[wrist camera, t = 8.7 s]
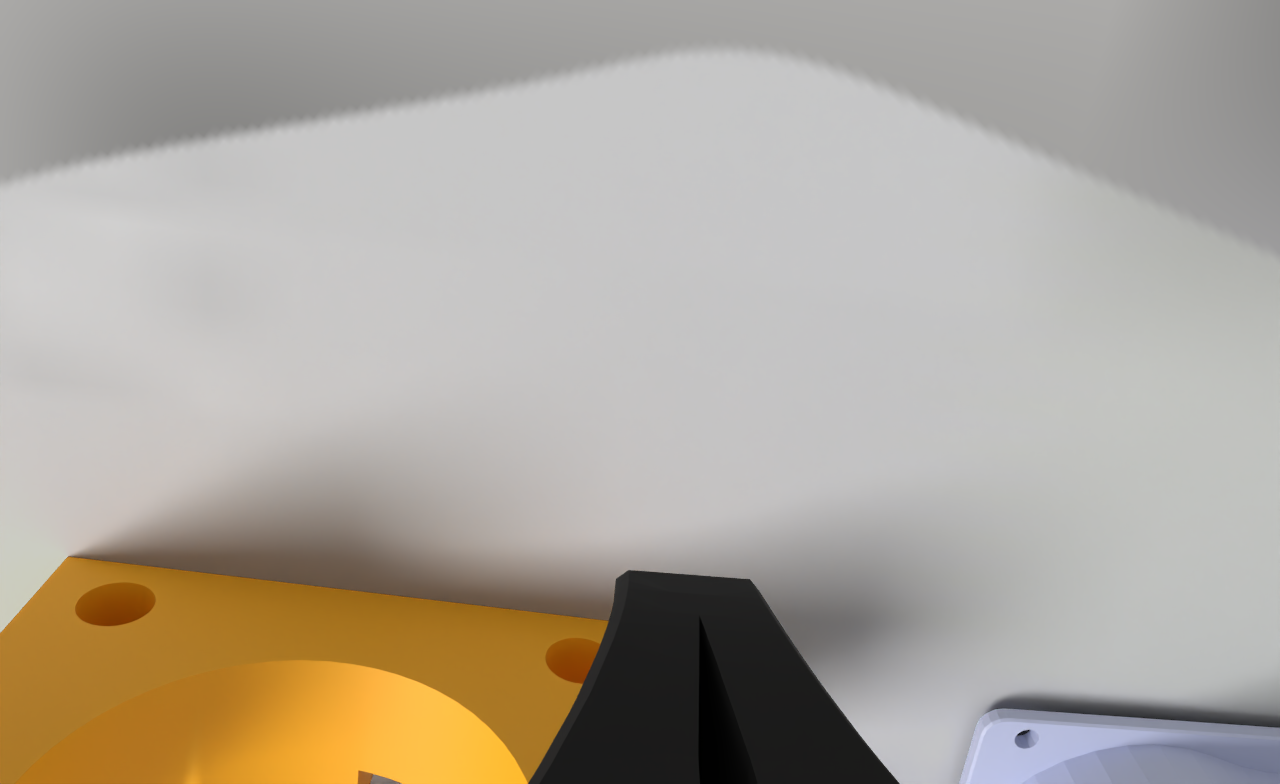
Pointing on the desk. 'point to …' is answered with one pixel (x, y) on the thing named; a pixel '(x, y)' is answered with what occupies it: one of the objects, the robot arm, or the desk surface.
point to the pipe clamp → (276, 683)
